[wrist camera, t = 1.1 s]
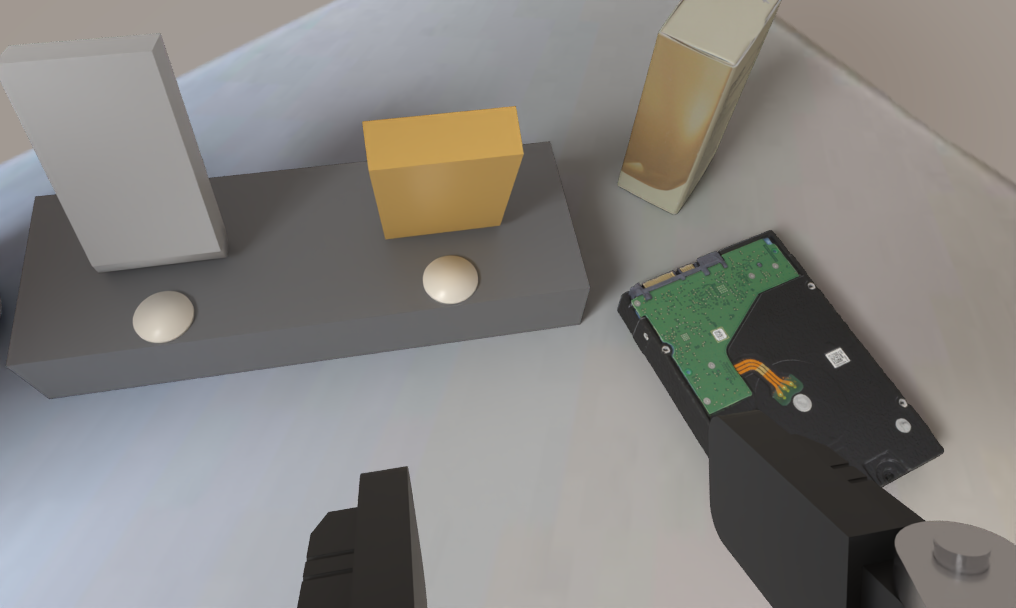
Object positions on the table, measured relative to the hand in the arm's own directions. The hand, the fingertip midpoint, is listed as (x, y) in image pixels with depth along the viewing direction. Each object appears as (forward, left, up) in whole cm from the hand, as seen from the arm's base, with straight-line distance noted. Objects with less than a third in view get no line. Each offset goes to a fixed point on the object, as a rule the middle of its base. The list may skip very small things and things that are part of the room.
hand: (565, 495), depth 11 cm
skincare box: (+15, +25, -24) cm, 38 cm away
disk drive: (+16, +10, -25) cm, 31 cm away
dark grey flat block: (-7, +20, -24) cm, 32 cm away
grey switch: (-14, +20, -19) cm, 31 cm away
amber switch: (0, +20, -19) cm, 28 cm away
